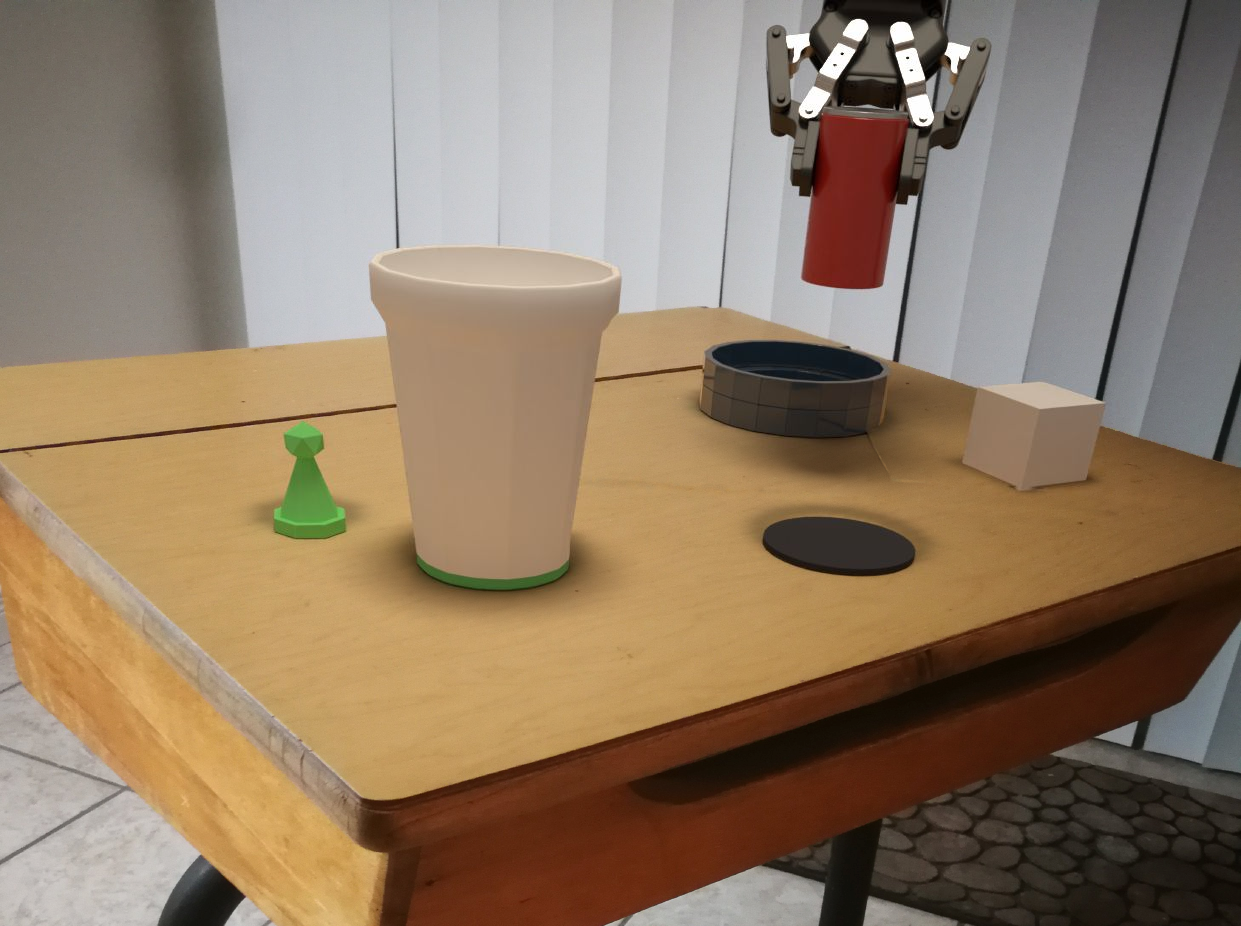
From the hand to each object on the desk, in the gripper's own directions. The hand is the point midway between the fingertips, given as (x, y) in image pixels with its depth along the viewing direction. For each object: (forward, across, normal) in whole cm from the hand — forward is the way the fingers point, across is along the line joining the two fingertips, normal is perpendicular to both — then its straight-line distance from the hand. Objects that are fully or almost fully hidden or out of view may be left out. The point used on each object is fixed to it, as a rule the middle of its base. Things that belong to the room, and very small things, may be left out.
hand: (854, 190), depth 78 cm
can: (+3, 0, +5) cm, 6 cm away
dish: (+1, -3, +24) cm, 25 cm away
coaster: (+21, +2, +4) cm, 22 cm away
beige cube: (+8, +14, +18) cm, 24 cm away
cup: (+28, -16, -2) cm, 32 cm away
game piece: (+26, -28, -1) cm, 38 cm away
